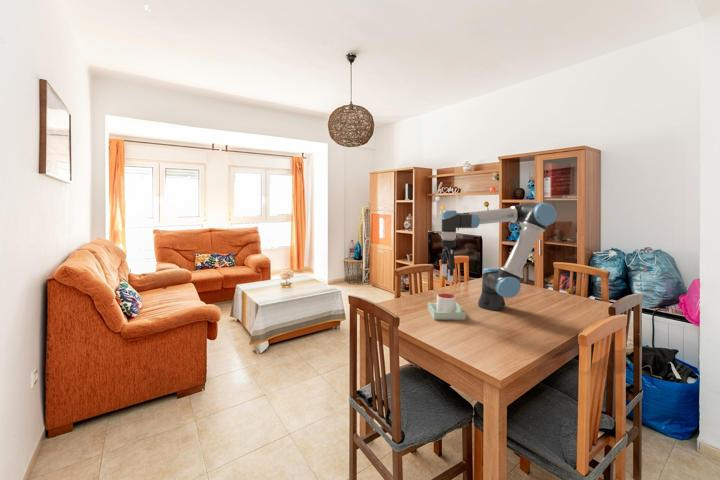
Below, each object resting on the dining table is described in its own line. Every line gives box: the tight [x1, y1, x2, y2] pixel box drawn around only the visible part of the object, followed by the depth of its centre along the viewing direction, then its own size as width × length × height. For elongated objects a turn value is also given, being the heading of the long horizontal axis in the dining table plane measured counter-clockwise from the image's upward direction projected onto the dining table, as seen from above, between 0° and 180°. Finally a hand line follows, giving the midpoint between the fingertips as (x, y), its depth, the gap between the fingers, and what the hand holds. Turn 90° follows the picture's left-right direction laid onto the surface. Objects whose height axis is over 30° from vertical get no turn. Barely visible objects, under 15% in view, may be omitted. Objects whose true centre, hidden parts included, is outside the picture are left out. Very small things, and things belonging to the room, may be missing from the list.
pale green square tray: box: [427, 301, 467, 321], centre depth 178 cm, size 16×16×4 cm
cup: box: [436, 292, 457, 312], centre depth 178 cm, size 10×10×10 cm
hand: (447, 278), depth 176 cm, fingers open, 13 cm apart
